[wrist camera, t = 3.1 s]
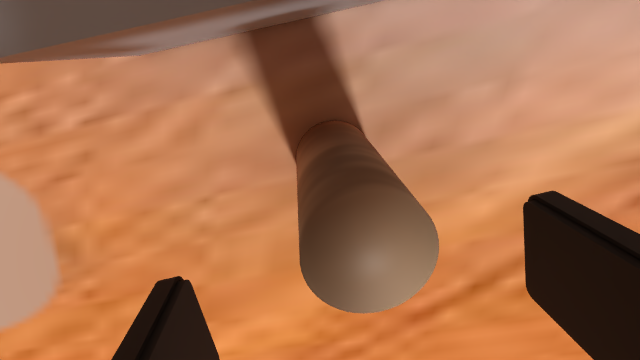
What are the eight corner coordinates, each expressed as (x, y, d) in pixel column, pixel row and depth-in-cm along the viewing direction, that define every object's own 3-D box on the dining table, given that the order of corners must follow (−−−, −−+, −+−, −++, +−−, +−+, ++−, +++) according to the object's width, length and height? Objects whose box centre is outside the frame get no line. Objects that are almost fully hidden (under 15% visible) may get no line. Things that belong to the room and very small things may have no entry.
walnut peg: (363, 112, 19) (431, 175, 10) (375, 183, 21) (445, 297, 11) (288, 129, 19) (284, 208, 10) (305, 199, 21) (316, 325, 11)
